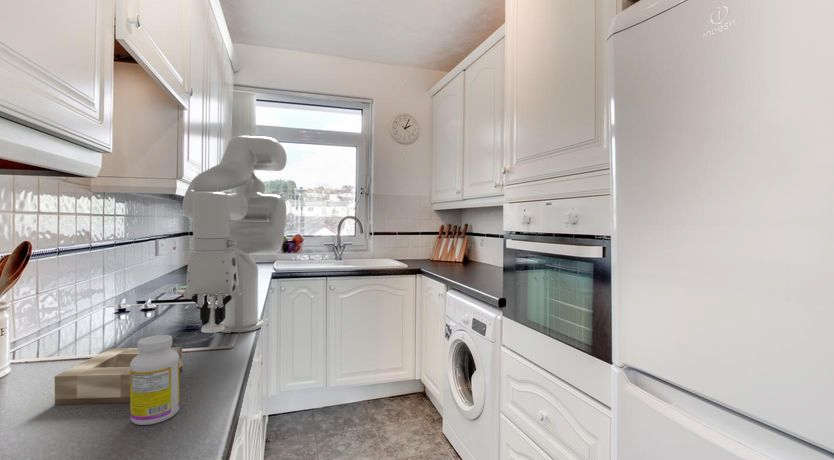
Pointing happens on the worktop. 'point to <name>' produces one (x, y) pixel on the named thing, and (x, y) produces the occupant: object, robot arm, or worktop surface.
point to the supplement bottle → (154, 381)
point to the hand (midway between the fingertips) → (213, 322)
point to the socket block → (100, 378)
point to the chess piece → (212, 317)
